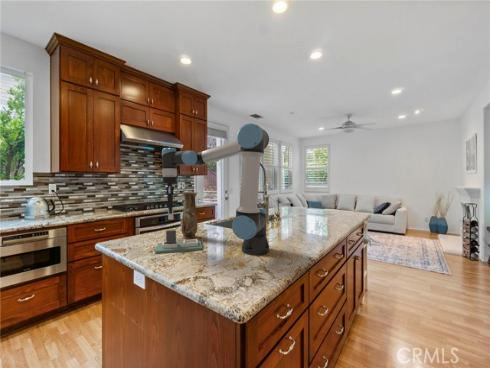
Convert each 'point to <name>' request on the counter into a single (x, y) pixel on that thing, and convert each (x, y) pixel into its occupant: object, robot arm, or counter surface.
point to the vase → (189, 216)
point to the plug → (171, 236)
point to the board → (179, 246)
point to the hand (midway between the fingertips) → (170, 219)
